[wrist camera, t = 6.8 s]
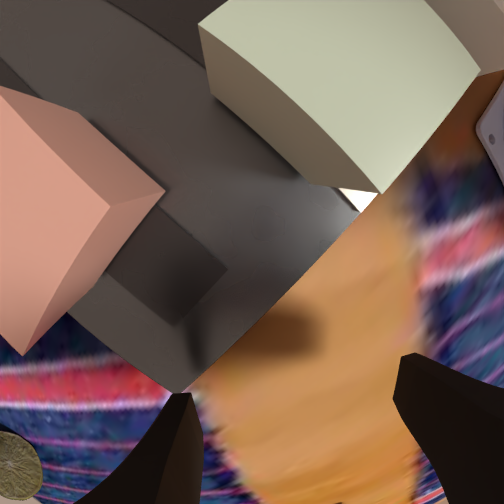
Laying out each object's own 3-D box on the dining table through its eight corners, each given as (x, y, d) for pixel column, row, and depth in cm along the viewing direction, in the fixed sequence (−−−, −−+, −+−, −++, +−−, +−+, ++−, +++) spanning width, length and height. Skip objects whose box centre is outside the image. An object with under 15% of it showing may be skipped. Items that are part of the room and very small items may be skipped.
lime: (-12, 416, 12) (-42, 458, 8) (34, 432, 13) (5, 485, 8) (13, 455, 13) (-9, 497, 9) (60, 472, 14) (41, 521, 9)
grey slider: (482, 43, 8) (550, 21, 3) (449, 84, 8) (535, 62, 4) (421, -26, 7) (478, -68, 3) (377, 4, 7) (442, -54, 3)
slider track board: (481, 48, 9) (498, 42, 8) (180, 378, 12) (176, 400, 11) (206, -136, 5) (206, -149, 3) (-68, 116, 8) (-84, 115, 6)
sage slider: (388, 101, 8) (481, 70, 4) (311, 184, 9) (382, 194, 5) (300, 16, 7) (345, -65, 3) (211, 93, 8) (198, 24, 4)
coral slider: (165, 190, 8) (110, 206, 4) (92, 286, 9) (22, 356, 5) (78, 112, 8) (-11, 82, 3) (17, 210, 8) (-73, 236, 4)
